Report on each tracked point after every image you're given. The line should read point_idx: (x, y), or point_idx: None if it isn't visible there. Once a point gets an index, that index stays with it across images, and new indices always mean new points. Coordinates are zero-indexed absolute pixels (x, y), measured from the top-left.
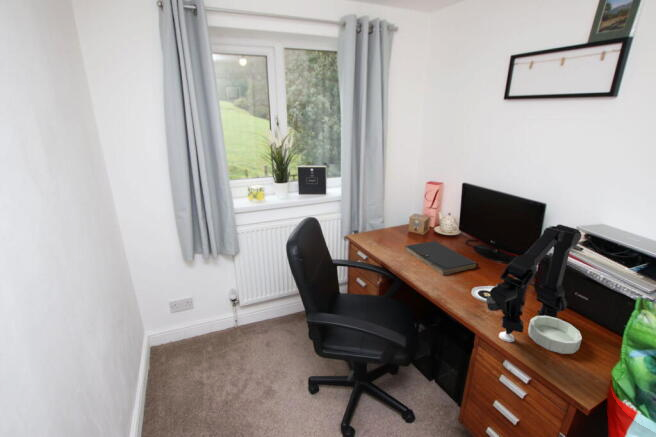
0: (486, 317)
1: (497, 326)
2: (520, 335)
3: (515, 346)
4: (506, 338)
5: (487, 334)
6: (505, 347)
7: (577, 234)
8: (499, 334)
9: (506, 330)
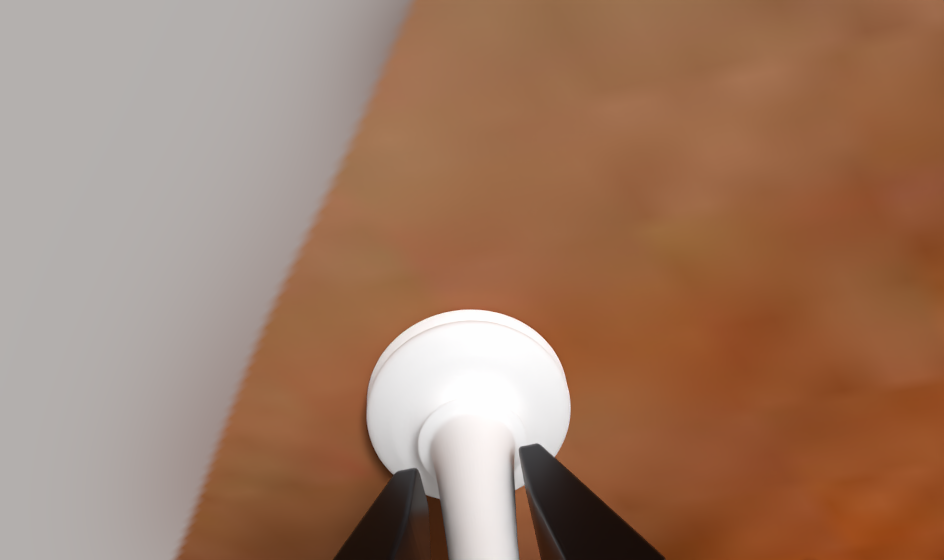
0: (888, 12)
1: (687, 242)
2: (631, 519)
3: (350, 517)
4: (384, 436)
5: (354, 151)
6: (228, 433)
7: None
8: (443, 325)
9: (350, 544)
